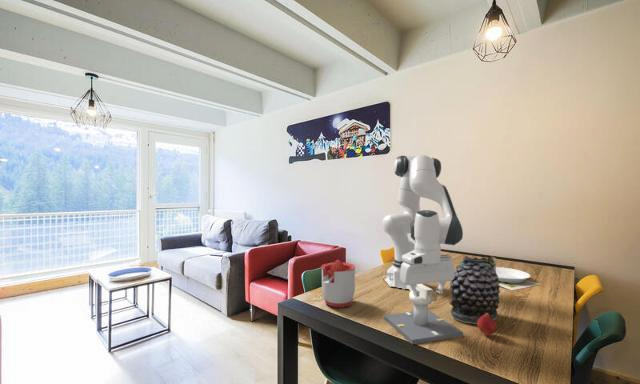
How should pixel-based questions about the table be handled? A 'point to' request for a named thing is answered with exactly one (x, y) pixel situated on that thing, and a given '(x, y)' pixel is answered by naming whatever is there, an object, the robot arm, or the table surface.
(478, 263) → the pineapple fairy house
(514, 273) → the white plate
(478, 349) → the table surface
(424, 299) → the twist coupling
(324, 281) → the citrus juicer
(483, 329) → the onion
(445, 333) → the lock base
